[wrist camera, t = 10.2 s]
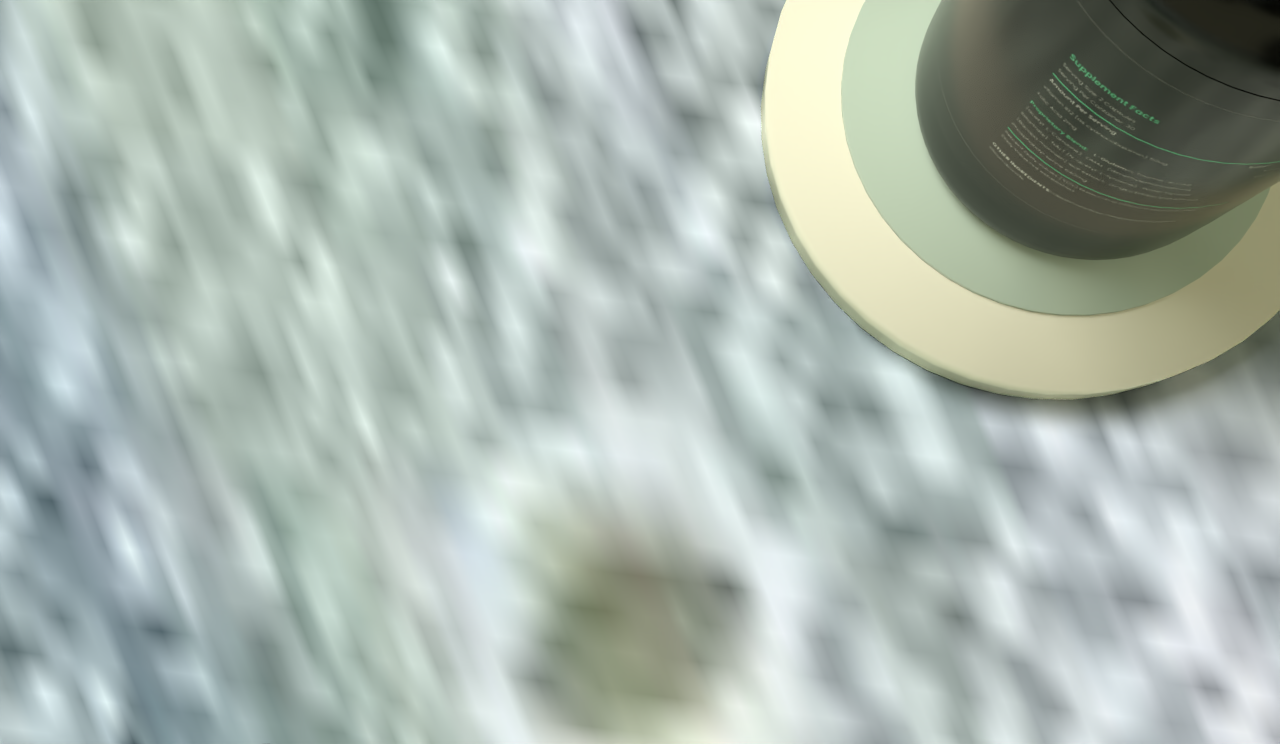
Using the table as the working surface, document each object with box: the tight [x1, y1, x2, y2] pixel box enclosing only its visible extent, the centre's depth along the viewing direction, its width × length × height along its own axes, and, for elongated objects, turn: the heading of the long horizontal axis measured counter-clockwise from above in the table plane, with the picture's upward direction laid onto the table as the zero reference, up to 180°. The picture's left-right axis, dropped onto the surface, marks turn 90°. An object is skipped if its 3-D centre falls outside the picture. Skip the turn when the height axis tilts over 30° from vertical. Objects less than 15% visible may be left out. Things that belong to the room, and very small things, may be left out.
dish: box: [761, 0, 1280, 400], centre depth 23 cm, size 12×12×1 cm
